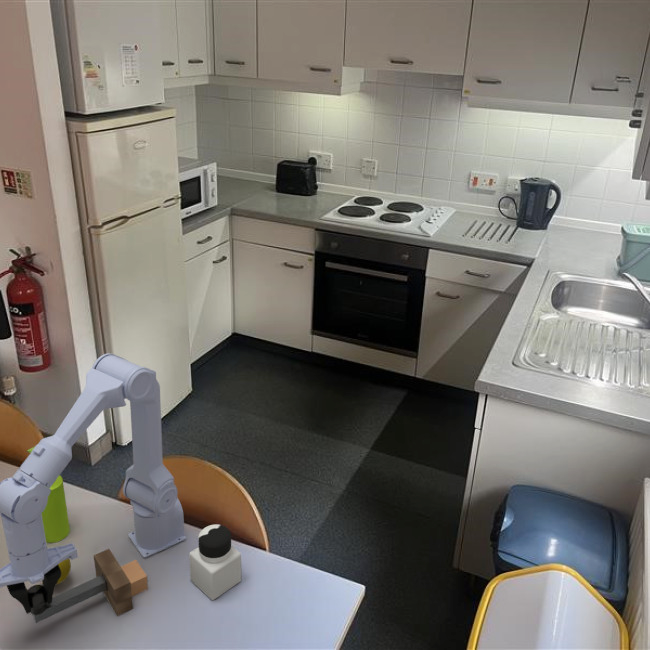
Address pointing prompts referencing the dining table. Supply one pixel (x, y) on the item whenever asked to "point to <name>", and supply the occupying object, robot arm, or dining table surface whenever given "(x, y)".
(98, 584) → the shaft
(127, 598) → the bracket
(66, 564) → the lemon
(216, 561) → the medicine bottle
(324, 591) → the dining table surface
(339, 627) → the dining table surface
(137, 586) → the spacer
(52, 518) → the soap dispenser
